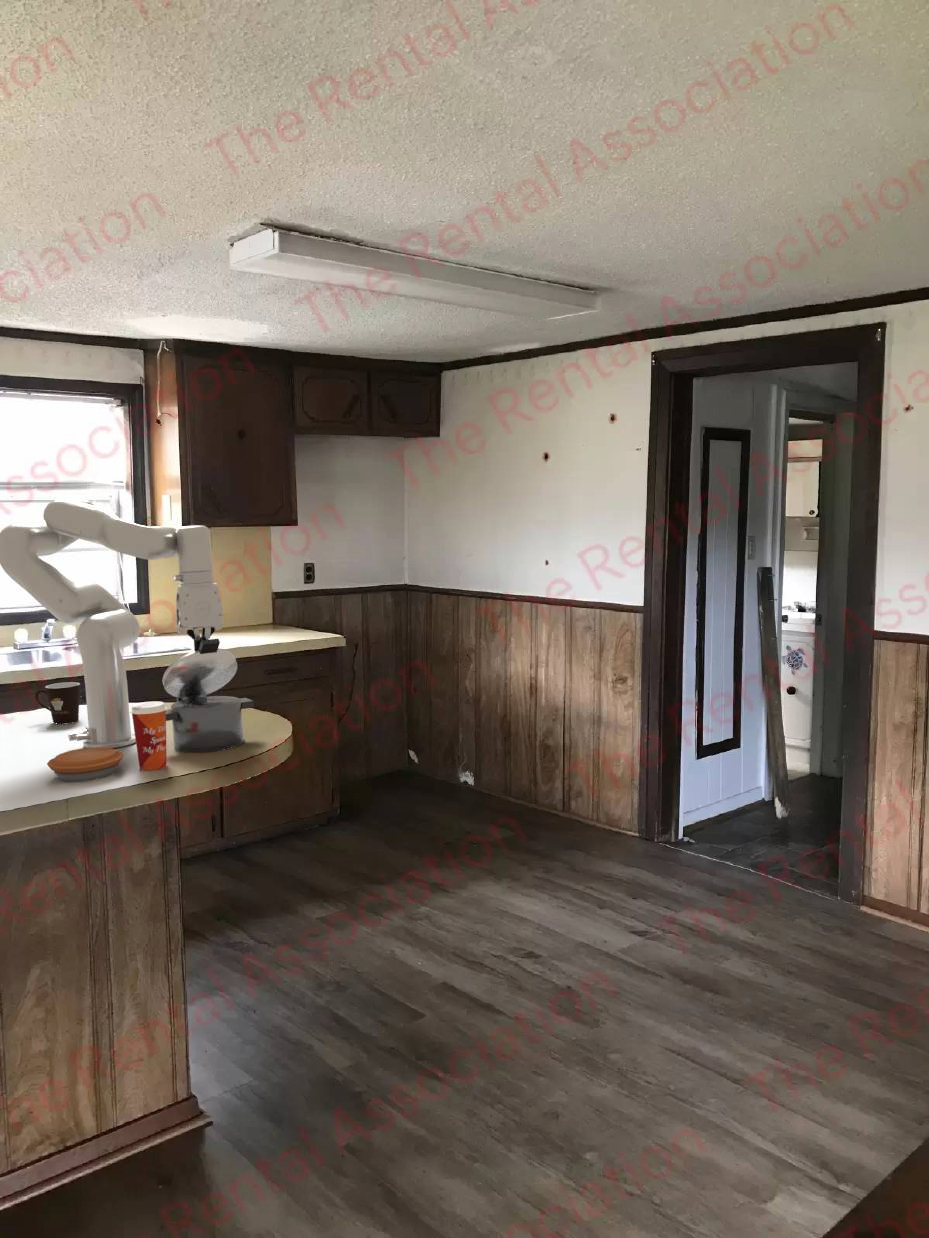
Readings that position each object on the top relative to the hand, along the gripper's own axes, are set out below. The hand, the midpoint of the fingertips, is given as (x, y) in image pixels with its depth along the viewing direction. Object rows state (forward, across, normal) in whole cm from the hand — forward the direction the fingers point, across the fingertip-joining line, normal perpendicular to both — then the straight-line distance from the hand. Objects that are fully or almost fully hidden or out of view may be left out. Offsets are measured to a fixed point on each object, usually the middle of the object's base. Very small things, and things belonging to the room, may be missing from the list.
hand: (202, 656), depth 238 cm
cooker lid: (+4, 0, 0) cm, 4 cm away
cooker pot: (+21, 0, +1) cm, 21 cm away
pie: (+22, -30, -8) cm, 38 cm away
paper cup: (+21, -17, -12) cm, 30 cm away
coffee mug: (+21, -21, +54) cm, 62 cm away
